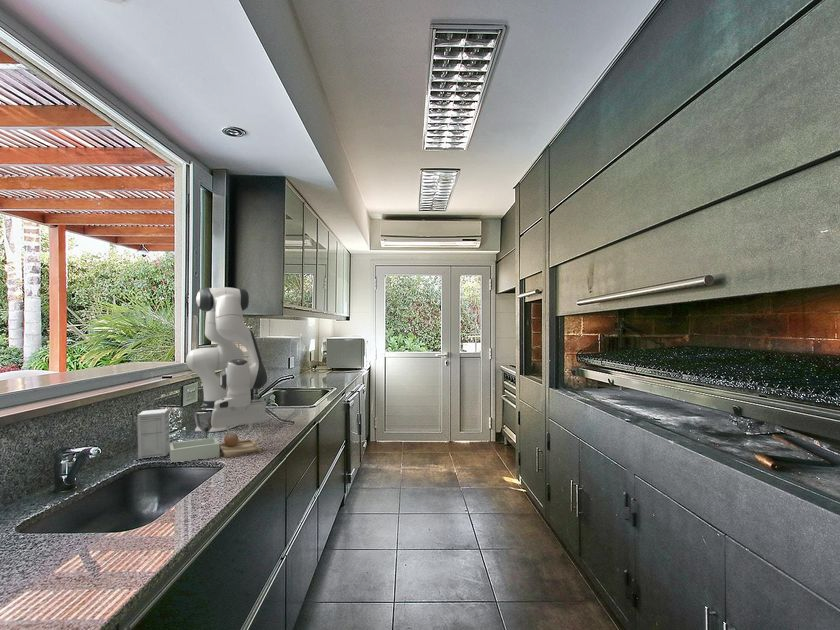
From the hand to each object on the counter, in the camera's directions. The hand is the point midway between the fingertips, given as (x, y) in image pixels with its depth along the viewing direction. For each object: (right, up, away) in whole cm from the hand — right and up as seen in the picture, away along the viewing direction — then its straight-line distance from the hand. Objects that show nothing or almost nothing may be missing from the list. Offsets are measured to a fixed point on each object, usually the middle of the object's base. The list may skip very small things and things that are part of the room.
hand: (239, 436), depth 182 cm
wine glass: (-15, -6, +4) cm, 17 cm away
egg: (-2, -2, 0) cm, 3 cm away
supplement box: (-30, -6, -5) cm, 32 cm away
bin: (-14, -6, -8) cm, 17 cm away
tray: (0, -5, 0) cm, 5 cm away
